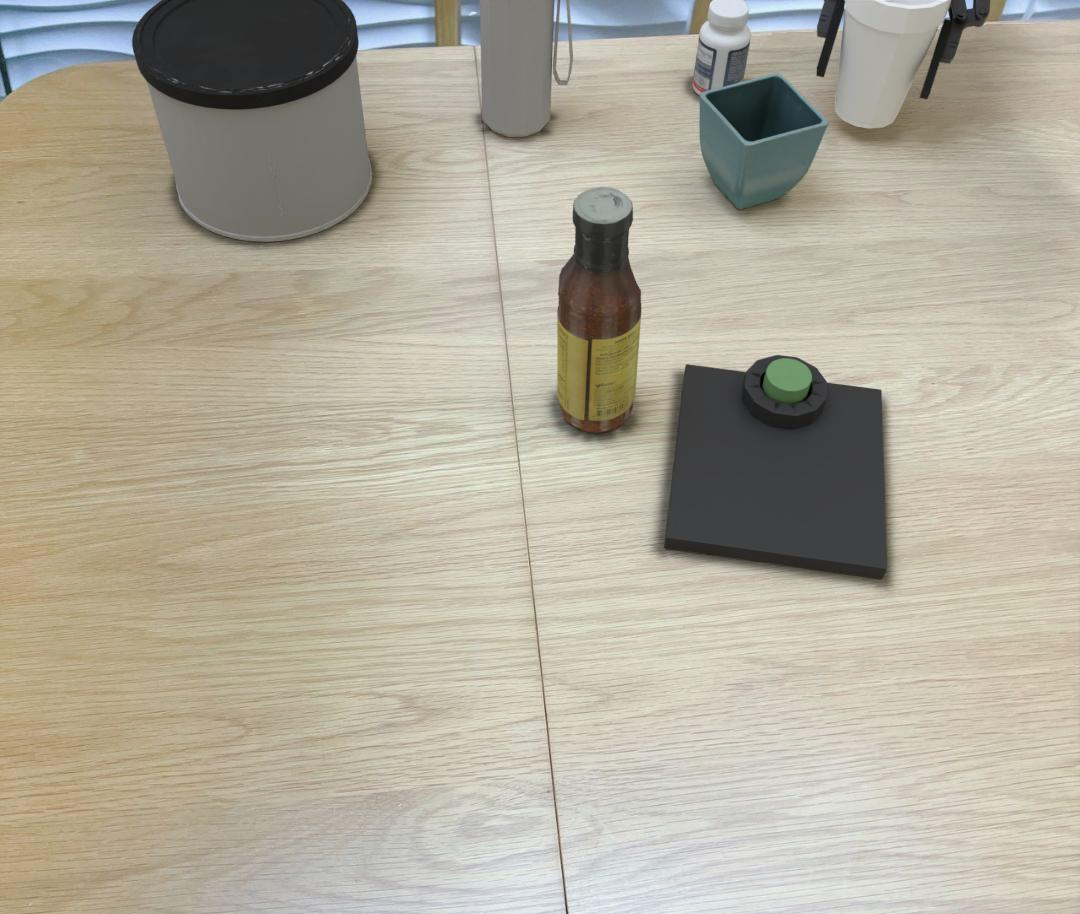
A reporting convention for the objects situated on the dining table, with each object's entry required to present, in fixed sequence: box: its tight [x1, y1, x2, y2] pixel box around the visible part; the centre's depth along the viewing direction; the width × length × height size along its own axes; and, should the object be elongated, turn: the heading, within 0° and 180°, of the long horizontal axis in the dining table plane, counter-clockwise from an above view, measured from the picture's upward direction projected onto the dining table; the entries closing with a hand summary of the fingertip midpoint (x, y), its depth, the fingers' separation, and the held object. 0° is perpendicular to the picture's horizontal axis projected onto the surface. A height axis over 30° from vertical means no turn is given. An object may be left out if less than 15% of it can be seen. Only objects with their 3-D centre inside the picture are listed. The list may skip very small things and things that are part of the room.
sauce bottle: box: [556, 186, 642, 434], centre depth 81 cm, size 6×6×20 cm
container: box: [131, 0, 373, 243], centre depth 99 cm, size 19×19×15 cm
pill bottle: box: [692, 0, 752, 96], centre depth 113 cm, size 5×5×9 cm
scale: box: [663, 354, 888, 580], centre depth 84 cm, size 16×19×3 cm
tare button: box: [763, 358, 812, 404], centre depth 86 cm, size 4×4×2 cm
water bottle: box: [479, 0, 574, 138], centre depth 102 cm, size 9×8×25 cm
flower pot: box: [698, 72, 829, 210], centre depth 102 cm, size 9×9×9 cm
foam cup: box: [834, 0, 951, 130], centre depth 106 cm, size 10×9×13 cm
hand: (872, 83), depth 106 cm, fingers closed on foam cup, 9 cm apart
